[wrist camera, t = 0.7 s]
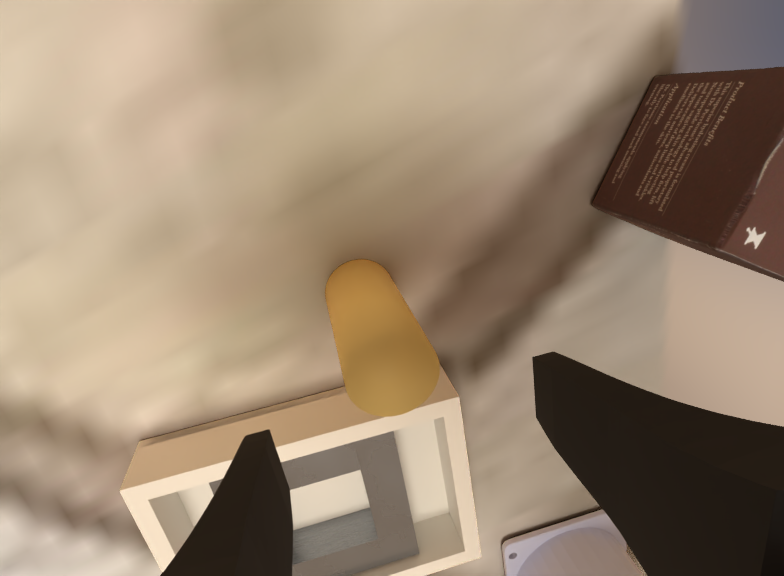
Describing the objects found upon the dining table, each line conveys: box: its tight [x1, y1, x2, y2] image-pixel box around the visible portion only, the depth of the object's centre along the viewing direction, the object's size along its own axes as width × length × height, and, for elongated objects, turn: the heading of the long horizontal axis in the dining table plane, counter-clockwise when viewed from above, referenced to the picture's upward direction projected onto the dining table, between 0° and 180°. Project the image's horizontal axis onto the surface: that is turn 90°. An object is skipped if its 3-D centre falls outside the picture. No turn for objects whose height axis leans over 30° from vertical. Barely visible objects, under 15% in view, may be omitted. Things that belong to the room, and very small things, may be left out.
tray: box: [119, 363, 482, 576], centre depth 23 cm, size 10×14×3 cm
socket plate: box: [209, 431, 419, 576], centre depth 23 cm, size 8×8×2 cm
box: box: [592, 67, 784, 282], centre depth 19 cm, size 6×6×7 cm
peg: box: [325, 259, 440, 417], centre depth 18 cm, size 3×3×7 cm
